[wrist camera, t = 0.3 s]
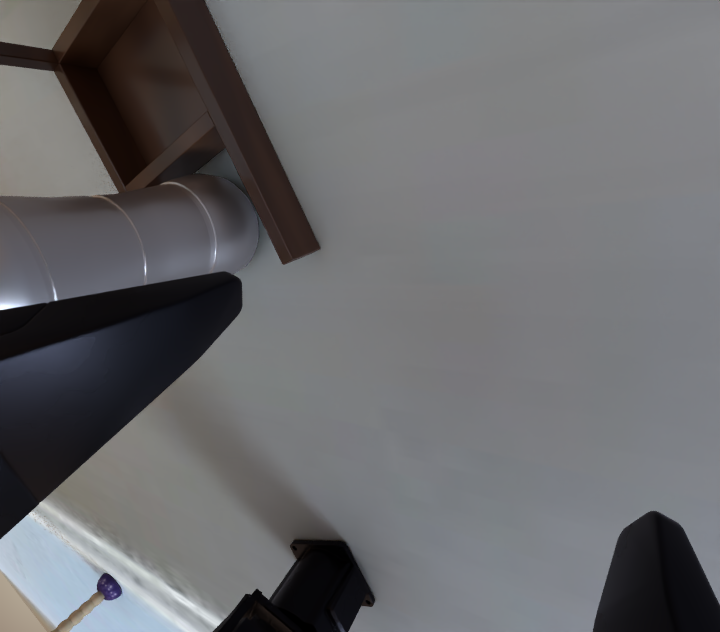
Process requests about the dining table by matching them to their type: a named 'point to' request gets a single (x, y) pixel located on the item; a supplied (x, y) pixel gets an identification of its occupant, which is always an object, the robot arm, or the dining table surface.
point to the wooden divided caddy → (167, 104)
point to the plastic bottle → (122, 239)
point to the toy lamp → (92, 602)
